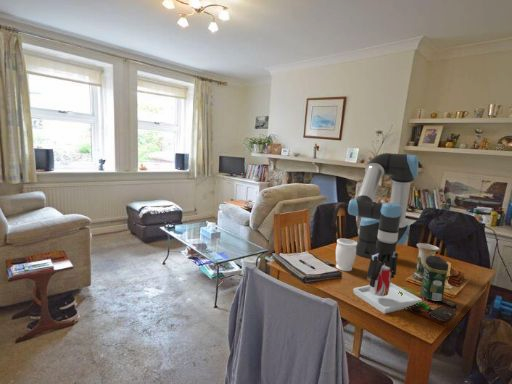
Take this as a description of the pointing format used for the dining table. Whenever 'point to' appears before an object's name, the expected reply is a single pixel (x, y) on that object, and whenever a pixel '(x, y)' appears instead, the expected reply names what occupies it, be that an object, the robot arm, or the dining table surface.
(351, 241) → the jar
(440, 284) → the coffee jar
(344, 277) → the dining table surface
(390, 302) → the tray
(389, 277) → the soda can
